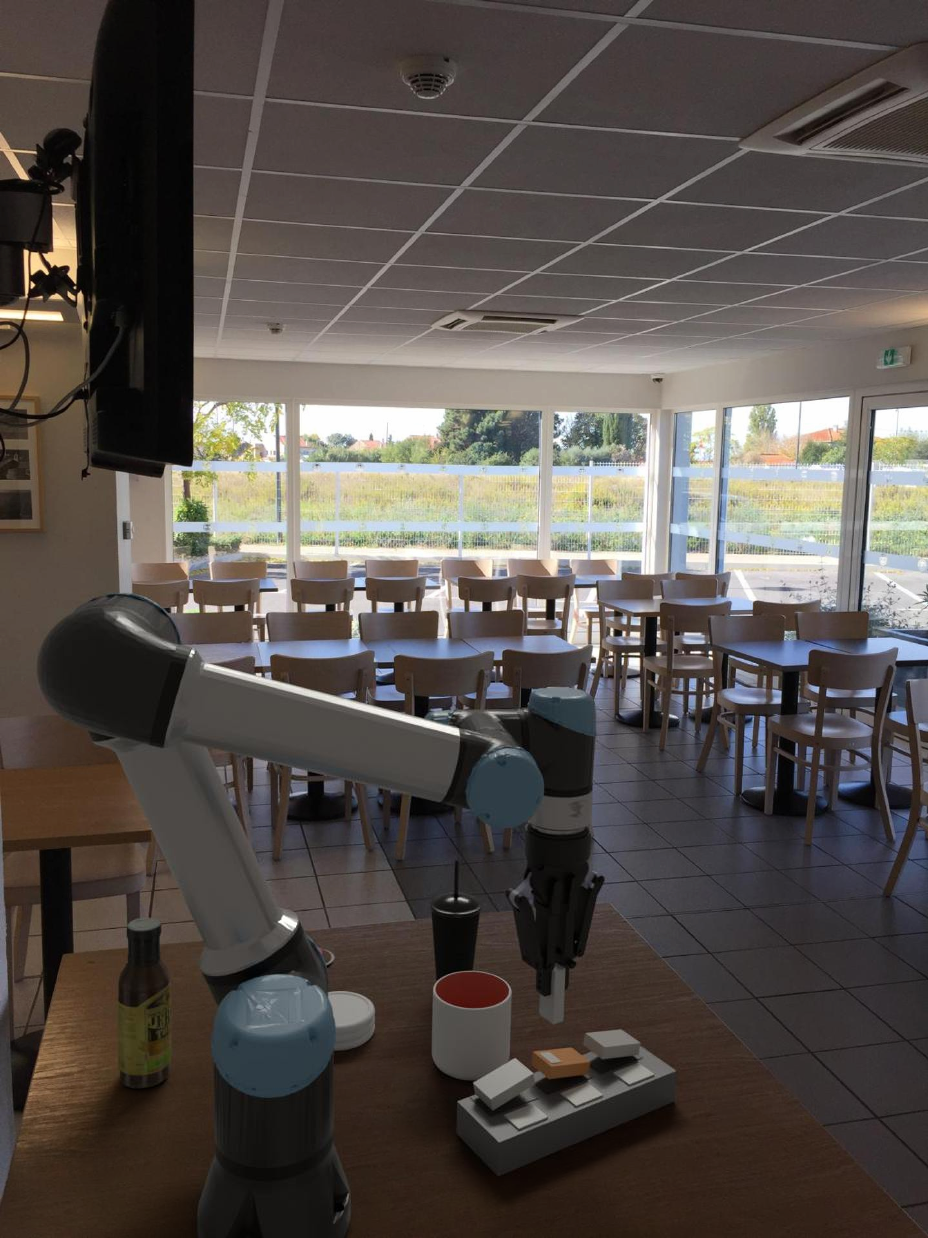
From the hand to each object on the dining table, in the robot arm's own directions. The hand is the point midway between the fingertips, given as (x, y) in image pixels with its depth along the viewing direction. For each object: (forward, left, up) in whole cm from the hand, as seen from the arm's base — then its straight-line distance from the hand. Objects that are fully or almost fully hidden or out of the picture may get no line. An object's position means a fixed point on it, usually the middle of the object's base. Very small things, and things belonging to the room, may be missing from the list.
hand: (551, 1017), depth 120 cm
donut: (-10, +48, -13) cm, 51 cm away
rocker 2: (+2, 0, -7) cm, 7 cm away
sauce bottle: (-39, +31, -12) cm, 51 cm away
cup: (-2, +13, -12) cm, 18 cm away
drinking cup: (+5, +29, -12) cm, 32 cm away
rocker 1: (-6, 0, -7) cm, 9 cm away
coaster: (-14, +29, -13) cm, 34 cm away
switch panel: (+2, -2, -12) cm, 12 cm away
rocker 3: (+10, 0, -7) cm, 12 cm away
